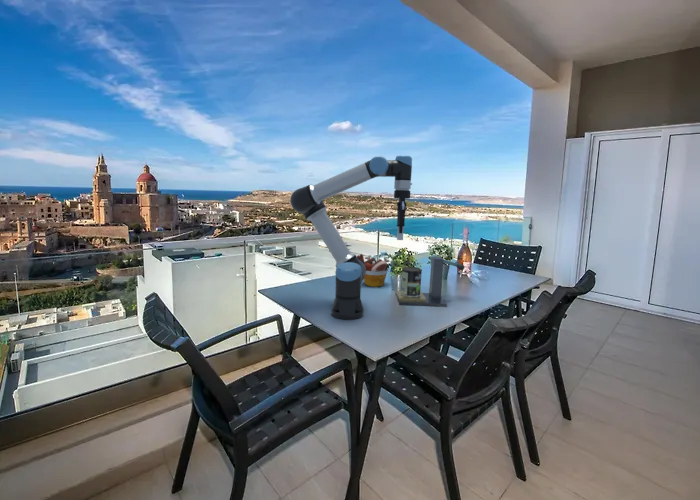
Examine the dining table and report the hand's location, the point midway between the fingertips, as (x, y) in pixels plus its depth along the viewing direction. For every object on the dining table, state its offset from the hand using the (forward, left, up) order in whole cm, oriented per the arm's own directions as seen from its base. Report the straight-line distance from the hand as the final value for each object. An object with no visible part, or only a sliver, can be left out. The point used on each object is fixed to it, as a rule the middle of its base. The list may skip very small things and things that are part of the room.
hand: (399, 239), depth 154 cm
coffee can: (+9, +14, -32) cm, 36 cm away
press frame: (+14, +14, -34) cm, 40 cm away
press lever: (+28, +20, -16) cm, 38 cm away
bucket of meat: (-10, +42, -35) cm, 55 cm away
